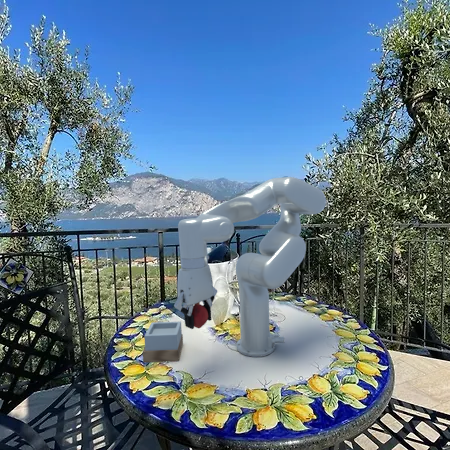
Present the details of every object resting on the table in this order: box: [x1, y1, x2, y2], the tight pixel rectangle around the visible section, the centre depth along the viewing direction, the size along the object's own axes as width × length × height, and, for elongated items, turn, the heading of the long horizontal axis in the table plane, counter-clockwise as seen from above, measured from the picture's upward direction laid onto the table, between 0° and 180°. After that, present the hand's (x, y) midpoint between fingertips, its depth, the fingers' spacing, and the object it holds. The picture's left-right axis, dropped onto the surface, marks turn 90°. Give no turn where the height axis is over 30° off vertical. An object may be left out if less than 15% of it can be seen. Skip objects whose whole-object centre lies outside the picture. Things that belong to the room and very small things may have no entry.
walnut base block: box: [142, 333, 184, 364], centre depth 101 cm, size 11×11×4 cm
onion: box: [192, 302, 209, 329], centre depth 89 cm, size 6×6×8 cm
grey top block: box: [144, 321, 183, 351], centre depth 100 cm, size 10×10×5 cm
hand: (198, 322), depth 89 cm, fingers closed on onion, 5 cm apart
